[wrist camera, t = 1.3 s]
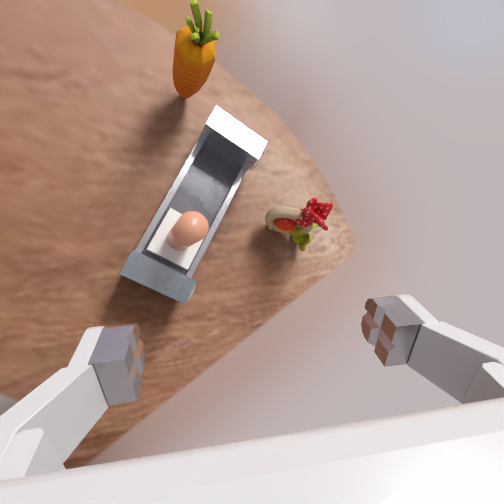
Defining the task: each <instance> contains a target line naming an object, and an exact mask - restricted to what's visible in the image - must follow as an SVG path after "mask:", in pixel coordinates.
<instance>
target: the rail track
mask: <svg viewBox="0 0 504 504" xmlns="http://www.w3.org/2000/svg"><path fill="white" fill-rule="evenodd" d="M266 143H267V141H266V140H264V139H263V138H262V137H260V136H259V135H257V134H256V133H255V132H253V131H252V130H250V129H249V128H248V127H246V126H245V125H243V124H242V123H240V122H239V121H238V120H236V119H235V118H233V117H232V116H231V115H229V114H228V113H226V112H225V111H224V110H222V109H221V108H219V107H218V106H216V107H215V108H214V110H213V112H212V114H211V115H210V117H209V119H208V121H207V122H206V124H205V126H204V129H203V131H202V133H201V135H200V137H199V140H198V141H197V143H196V145H195V147H194V148H193V150H192V152H191V154H190V155H189V157H188V159H187V161H186V162H185V164H184V166H183V167H182V169H181V171H180V173H179V174H178V176H177V178H176V180H175V181H174V183H173V185H172V187H171V188H170V190H169V192H168V194H167V195H166V197H165V199H164V201H163V202H162V204H161V206H160V207H159V209H158V211H157V213H156V214H155V216H154V218H153V220H152V221H151V223H150V225H149V227H148V228H147V230H146V232H145V234H144V235H143V237H142V239H141V241H140V242H139V244H138V246H137V248H136V249H135V250H133V251H132V252H131V254H130V256H129V258H128V259H127V261H126V263H125V264H124V266H123V268H122V270H121V271H120V273H119V274H120V275H123V276H125V277H127V278H129V279H131V280H133V281H136V282H138V283H140V284H142V285H144V286H146V287H149V288H151V289H153V290H155V291H157V292H159V293H162V294H164V295H166V296H168V297H170V298H173V299H175V300H177V301H179V302H181V303H183V304H187V303H188V301H189V300H190V298H191V296H192V295H193V293H194V290H195V288H196V285H197V281H196V280H194V279H192V276H193V274H194V272H195V270H196V268H197V266H198V264H199V262H200V260H201V258H202V256H203V254H204V252H205V251H206V249H207V247H208V245H209V243H210V241H211V239H212V237H213V235H214V233H215V231H216V229H217V227H218V225H219V223H220V221H221V219H222V217H223V215H224V213H225V211H226V209H227V207H228V205H229V203H230V202H231V200H232V198H233V196H234V194H235V192H236V190H237V188H238V186H239V184H240V182H241V180H242V178H243V176H244V174H245V172H246V171H247V170H248V169H250V170H253V169H254V168H255V167H256V165H257V164H258V162H259V161H260V159H261V157H262V155H263V153H264V151H263V149H264V147H265V145H266ZM170 208H172V209H174V210H176V211H177V212H179V213H181V214H184V213H186V212H188V211H196V212H199V213H201V214H202V215H203V216H204V217H205V218H206V219H207V221H208V225H209V230H208V233H207V235H206V236H205V238H204V239H203V241H202V243H201V245H200V247H199V249H198V251H197V253H196V255H195V257H194V259H193V261H192V263H191V265H190V267H189V268H188V270H184V269H182V268H180V267H178V266H176V265H174V264H172V263H170V262H168V261H166V260H164V259H162V258H160V257H158V256H156V255H154V254H152V253H150V252H148V251H146V250H147V248H148V246H149V244H150V242H151V241H152V239H153V237H154V235H155V234H156V232H157V230H158V228H159V227H160V225H161V223H162V221H163V219H164V218H165V216H166V214H167V212H168V211H169V209H170Z"/></svg>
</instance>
